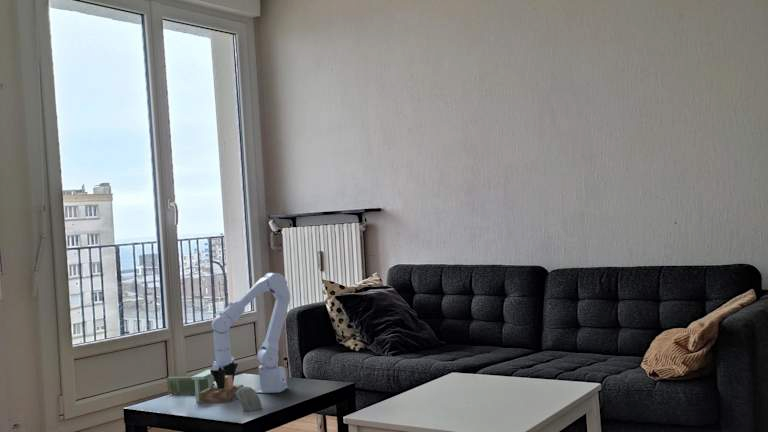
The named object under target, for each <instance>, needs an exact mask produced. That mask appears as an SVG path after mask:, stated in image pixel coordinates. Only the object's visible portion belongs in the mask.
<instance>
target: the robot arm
mask: <svg viewBox="0 0 768 432" xmlns="http://www.w3.org/2000/svg"><path fill="white" fill-rule="evenodd" d="M265 292H271V294H272V296H273V297H274V298H275V302H274V306H273V308H272V309H273V310H272V313H271V316H270V320H269V324H268V328H267V332H266V335H265V339H264V341H263V342H262V344H261V347H260V348H259V350H258V352H257V354H256V360H257V362H258V363H259V366H258V373H259V374H258V375H259V384H260V386H259V387H260V389H259V390H257V391H256V392H257V394H269V393H274V394H275V393H281V392H283V391H285V390H286V389H288V388H289V387H288V383H287V373H286V368H285V367H284V366H279V364H278V363H279V359H280V358H279V350H280V346H279V342H280V339H281V338H280V337H281V335H282V331H283V327H284V324H285V323H284V322H285V319H286V316H287V312H288V308H289V305H290V300H291V294H290V290H289V287H288V281H287V279H286V278H285V277H284V275H283V274H281V273H278V272H267V273H265V274H264V275H263V277H260V278H259V280H257V281H256V282H255V283H254V284H253V286H251V288H250V289H248V291H247V292H246V293H245V294H243V296H242V297H240V299H239V300H233V301H232V302H231V301H229V302H228V304H227V305H228V306H226V308H225V309H224V310H222V311H220V312H219V313H218V316H215V317H214V318H213V319H212V320H211V324H210V327H211V329H212V330H213V346H214V355H215V356H214V357H215V361H212V365H211V366H212V367H211V369H212V370H210V372H211V374H212V376H213V377H212V378H213V379H214V381H215V383H216V385H217V387H218V389H224V385H225V375H232V377H233V383H235V382H234V381H235V374H236V370H237V368H238V366H239V365H238V363H237V362H236V357H235V356H232V348H231V339H230V331H229V330H230V328H231V325H232V324H234V323H235V322H236V321H237V320H238V319H240V317H241V316H242V315H243V314H244V313H245V309H246V307H247V306H248V305H249V304H250V303H251V302H252V301H254V299H256V298H257V297H258V296H260V294H262V293H265Z"/></svg>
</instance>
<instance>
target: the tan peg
mask: <svg viewBox="0 0 768 432" xmlns="http://www.w3.org/2000/svg"><path fill="white" fill-rule="evenodd" d="M233 385H234V382H233V377H232V375H225V385H224V389H218V390H219V391H223V390H231V389H233Z"/></svg>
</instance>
